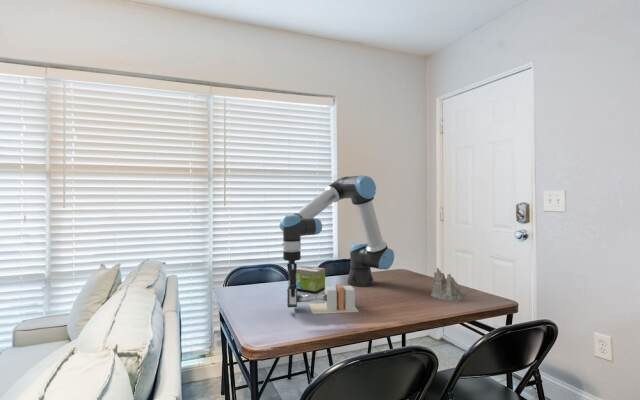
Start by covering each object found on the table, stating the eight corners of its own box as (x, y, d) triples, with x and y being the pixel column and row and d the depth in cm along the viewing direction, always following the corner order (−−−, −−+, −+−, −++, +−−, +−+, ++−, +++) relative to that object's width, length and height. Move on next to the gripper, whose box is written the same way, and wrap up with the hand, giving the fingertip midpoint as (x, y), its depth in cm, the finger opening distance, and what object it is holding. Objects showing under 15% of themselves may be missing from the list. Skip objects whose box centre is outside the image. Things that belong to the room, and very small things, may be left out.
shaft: (327, 303, 158) (327, 287, 158) (329, 305, 154) (329, 289, 154) (287, 304, 156) (287, 288, 156) (287, 307, 152) (287, 291, 152)
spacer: (340, 304, 161) (340, 283, 161) (343, 310, 153) (343, 288, 153) (335, 304, 161) (335, 283, 161) (339, 310, 153) (339, 288, 153)
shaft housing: (351, 305, 165) (351, 283, 165) (358, 315, 151) (358, 291, 151) (308, 307, 162) (308, 285, 162) (312, 317, 148) (312, 293, 148)
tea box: (289, 297, 177) (289, 268, 177) (300, 293, 186) (300, 264, 186) (316, 302, 170) (316, 271, 170) (325, 296, 179) (325, 267, 179)
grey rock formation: (455, 302, 167) (454, 270, 168) (424, 296, 180) (424, 267, 181) (471, 298, 177) (470, 268, 178) (441, 293, 190) (441, 265, 191)
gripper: (282, 246, 166) (282, 292, 166) (284, 255, 141) (284, 308, 141) (298, 246, 167) (298, 291, 167) (302, 255, 142) (302, 307, 142)
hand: (292, 299), depth 154 cm, fingers open, 13 cm apart
